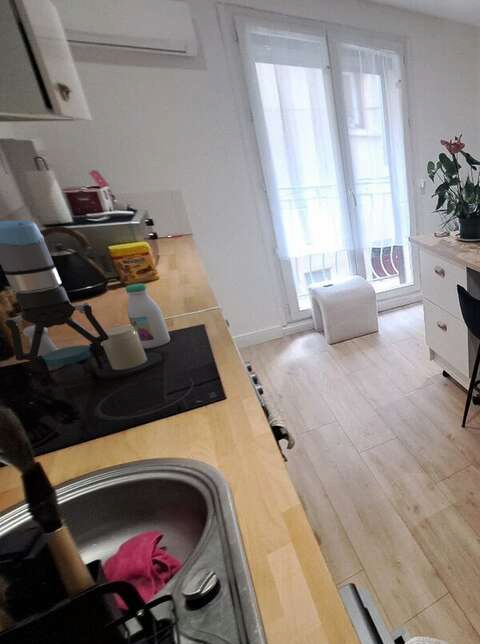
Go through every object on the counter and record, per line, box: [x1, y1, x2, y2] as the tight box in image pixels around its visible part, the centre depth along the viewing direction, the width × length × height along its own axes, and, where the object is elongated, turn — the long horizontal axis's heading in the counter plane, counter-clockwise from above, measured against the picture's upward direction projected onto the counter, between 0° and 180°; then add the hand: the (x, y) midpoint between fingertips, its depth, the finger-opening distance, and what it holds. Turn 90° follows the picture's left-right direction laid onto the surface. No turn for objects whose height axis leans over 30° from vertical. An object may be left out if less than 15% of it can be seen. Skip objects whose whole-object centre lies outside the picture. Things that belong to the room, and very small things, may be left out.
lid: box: [43, 344, 93, 367], centre depth 101 cm, size 8×8×2 cm
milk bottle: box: [124, 283, 171, 349], centre depth 129 cm, size 8×8×20 cm
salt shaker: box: [22, 324, 64, 372], centre depth 115 cm, size 6×6×13 cm
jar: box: [101, 325, 147, 370], centre depth 116 cm, size 8×8×10 cm
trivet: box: [94, 351, 163, 380], centre depth 118 cm, size 14×14×1 cm
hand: (76, 373), depth 103 cm, fingers closed on lid, 8 cm apart
